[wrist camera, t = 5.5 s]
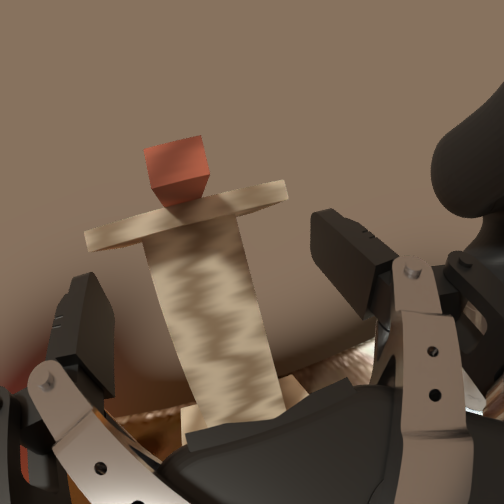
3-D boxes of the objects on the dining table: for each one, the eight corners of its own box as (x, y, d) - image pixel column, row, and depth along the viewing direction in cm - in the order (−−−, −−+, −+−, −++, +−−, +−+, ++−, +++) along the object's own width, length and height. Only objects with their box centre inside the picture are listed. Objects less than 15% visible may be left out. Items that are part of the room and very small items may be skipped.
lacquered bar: (195, 213, 41) (191, 197, 41) (210, 174, 16) (200, 135, 16) (172, 219, 41) (168, 203, 40) (151, 188, 15) (143, 149, 15)
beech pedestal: (294, 383, 46) (248, 200, 43) (335, 433, 31) (283, 179, 28) (185, 417, 42) (120, 234, 39) (189, 480, 27) (83, 231, 23)
